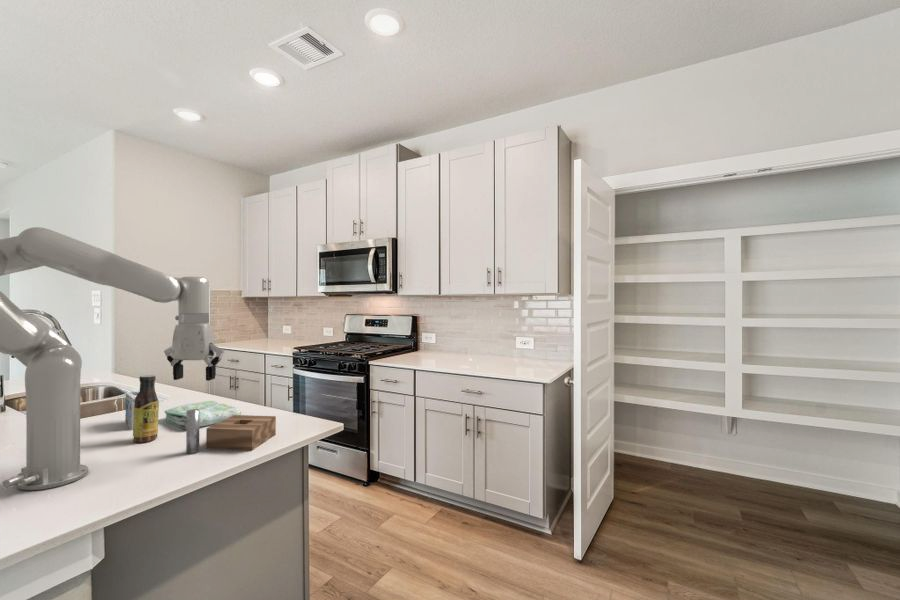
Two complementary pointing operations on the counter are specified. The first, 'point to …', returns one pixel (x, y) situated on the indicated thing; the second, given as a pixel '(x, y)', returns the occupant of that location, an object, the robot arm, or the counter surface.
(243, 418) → the socket block
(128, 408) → the light bulb box
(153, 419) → the sauce bottle
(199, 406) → the towel
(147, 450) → the counter surface
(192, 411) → the pin
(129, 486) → the counter surface
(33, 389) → the robot arm
